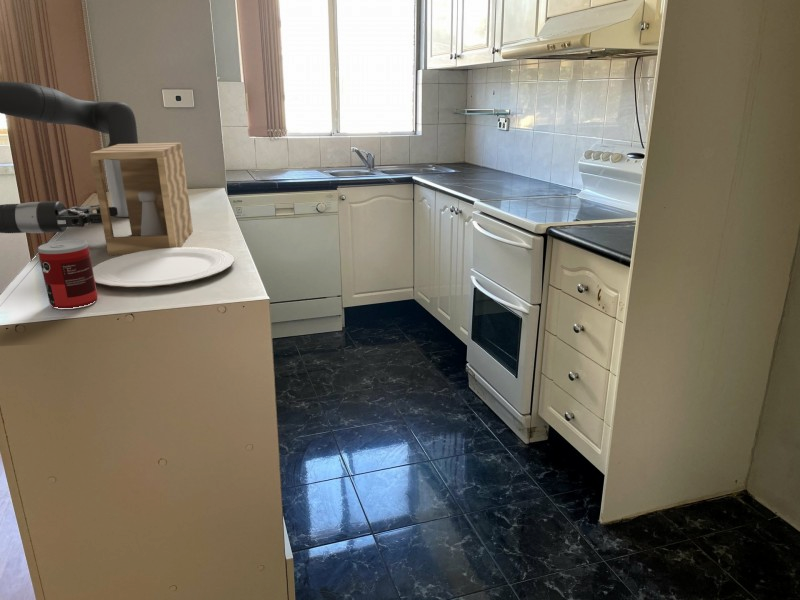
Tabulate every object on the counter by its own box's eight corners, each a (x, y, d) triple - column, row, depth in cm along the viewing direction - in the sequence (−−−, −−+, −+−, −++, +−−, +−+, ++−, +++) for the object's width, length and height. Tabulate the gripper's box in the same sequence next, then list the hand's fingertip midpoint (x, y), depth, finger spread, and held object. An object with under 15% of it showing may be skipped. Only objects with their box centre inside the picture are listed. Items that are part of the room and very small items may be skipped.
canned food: (61, 297, 113) (49, 240, 109) (105, 295, 113) (94, 238, 110) (42, 311, 105) (28, 251, 102) (88, 309, 106) (76, 249, 102)
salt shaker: (158, 245, 149) (150, 193, 144) (137, 244, 150) (129, 192, 145) (171, 240, 154) (164, 189, 150) (151, 239, 155) (143, 188, 151)
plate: (240, 251, 144) (239, 243, 143) (228, 289, 117) (227, 280, 116) (111, 258, 139) (109, 250, 138) (68, 300, 112) (66, 290, 111)
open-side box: (133, 233, 161) (118, 144, 153) (192, 231, 163) (181, 142, 155) (108, 255, 140) (89, 152, 133) (177, 252, 143) (162, 151, 135)
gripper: (25, 207, 138) (100, 204, 140) (50, 197, 151) (117, 194, 153) (32, 239, 140) (105, 236, 143) (56, 226, 154) (122, 223, 156)
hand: (112, 214), depth 148 cm, fingers open, 8 cm apart
